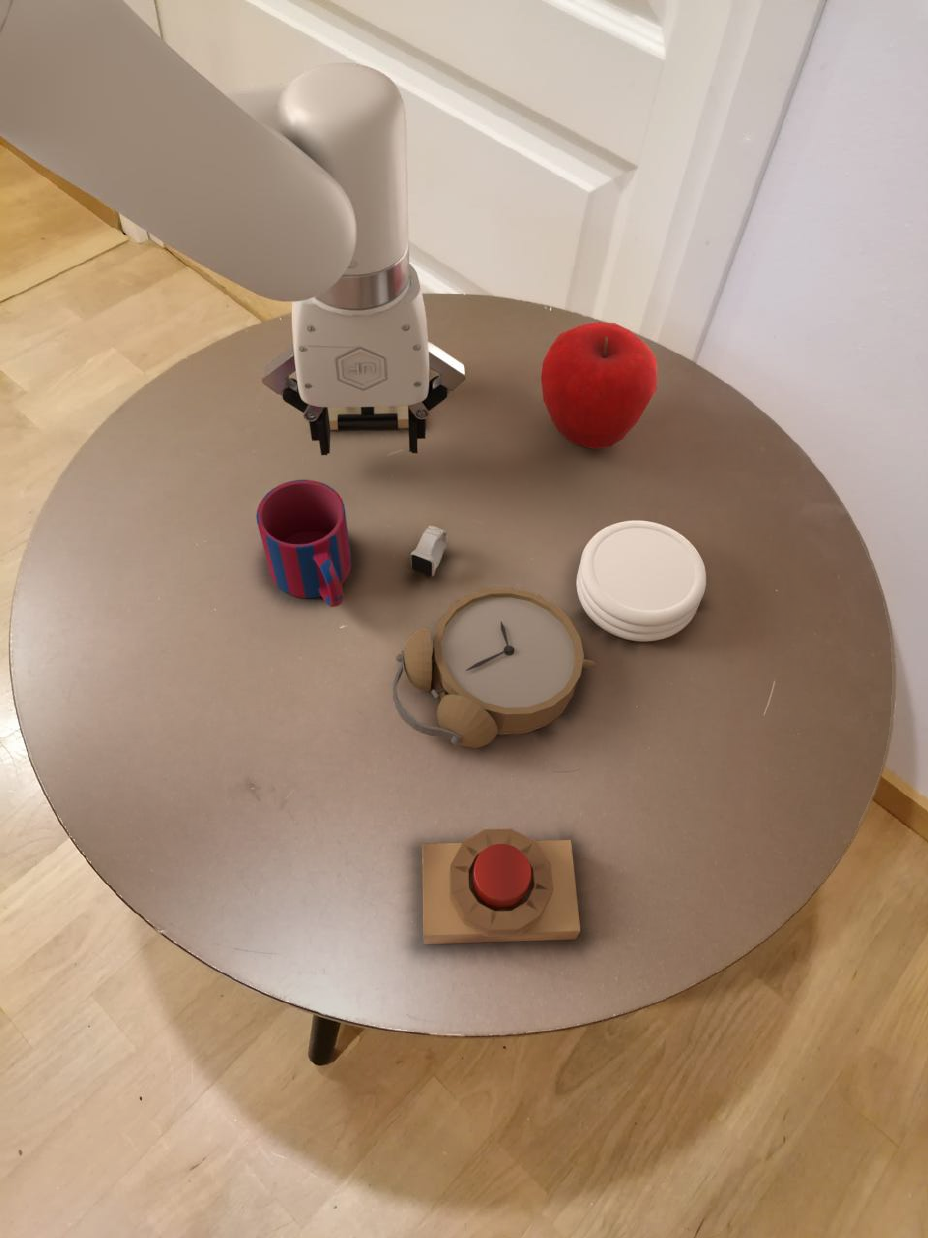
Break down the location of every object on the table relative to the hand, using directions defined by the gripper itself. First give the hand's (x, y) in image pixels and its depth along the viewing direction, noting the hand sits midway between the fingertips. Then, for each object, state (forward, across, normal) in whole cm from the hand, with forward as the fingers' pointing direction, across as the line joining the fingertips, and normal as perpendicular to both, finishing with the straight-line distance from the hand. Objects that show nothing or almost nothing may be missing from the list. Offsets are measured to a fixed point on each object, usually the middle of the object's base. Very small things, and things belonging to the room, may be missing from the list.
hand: (369, 441), depth 80 cm
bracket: (+3, 0, +10) cm, 10 cm away
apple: (+3, +20, +4) cm, 21 cm away
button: (0, +8, -38) cm, 39 cm away
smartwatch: (+3, +5, -11) cm, 12 cm away
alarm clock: (+3, +9, -22) cm, 24 cm away
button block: (+3, +8, -38) cm, 39 cm away
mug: (+3, -5, -12) cm, 13 cm away
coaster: (+3, +22, -14) cm, 26 cm away
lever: (-4, 0, +6) cm, 7 cm away
